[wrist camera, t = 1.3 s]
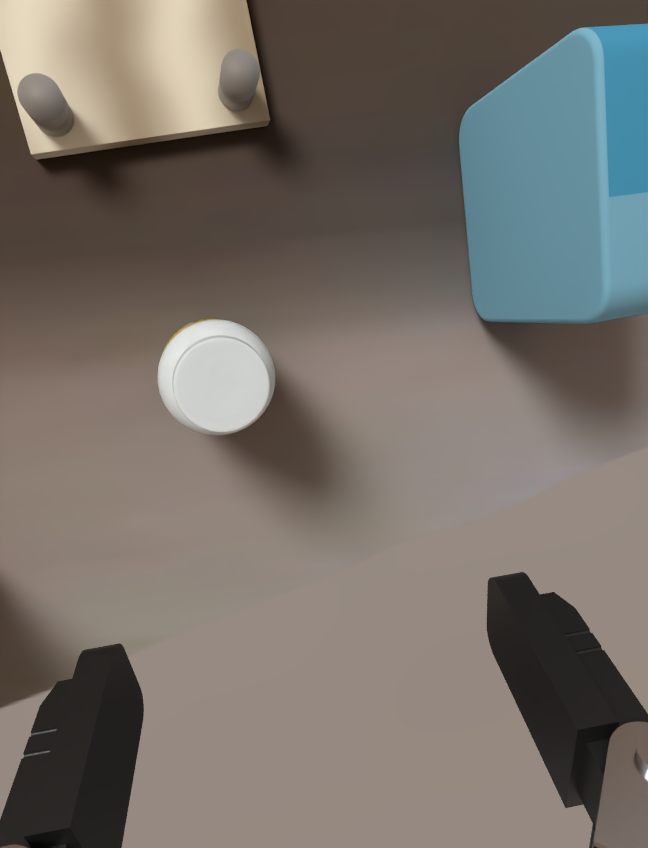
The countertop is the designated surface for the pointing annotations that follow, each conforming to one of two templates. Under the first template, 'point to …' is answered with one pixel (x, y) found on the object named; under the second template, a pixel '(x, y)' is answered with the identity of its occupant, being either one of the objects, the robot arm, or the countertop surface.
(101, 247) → the countertop surface
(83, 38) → the pin base
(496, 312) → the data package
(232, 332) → the supplement bottle
